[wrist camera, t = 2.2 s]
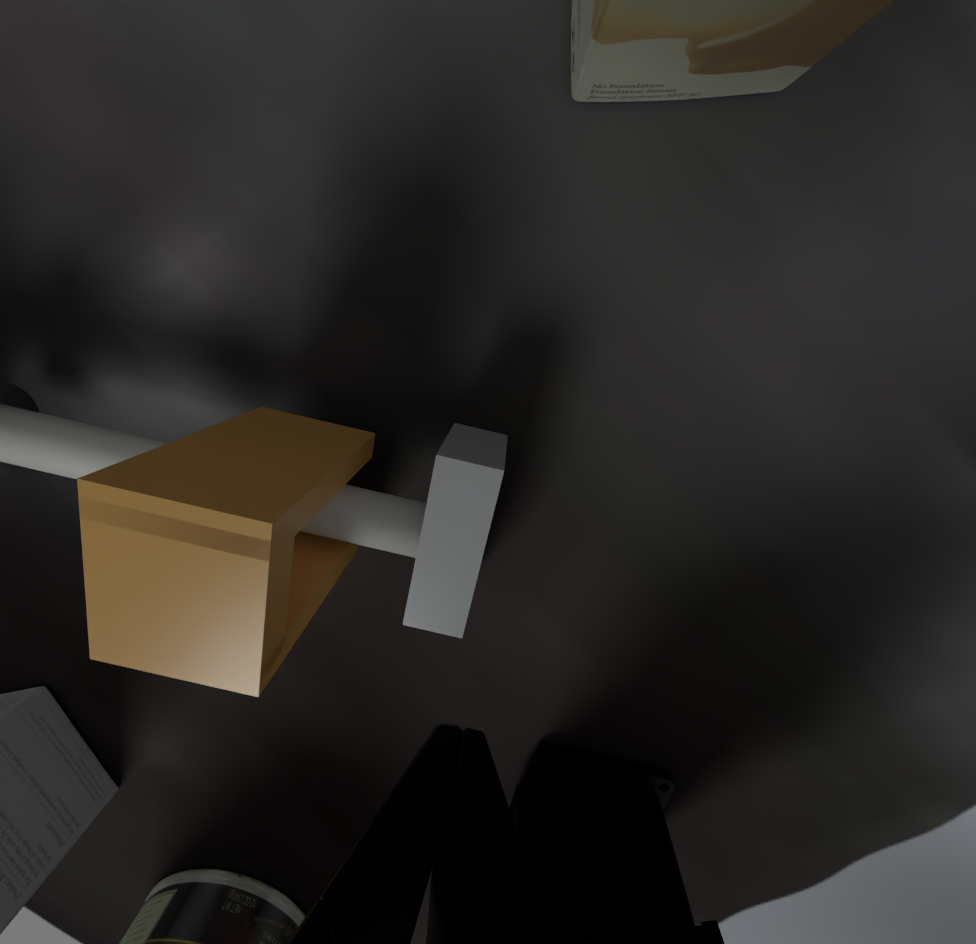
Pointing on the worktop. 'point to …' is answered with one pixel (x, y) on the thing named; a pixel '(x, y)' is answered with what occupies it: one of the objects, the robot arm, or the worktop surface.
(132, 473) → the sleeve
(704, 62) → the skincare box
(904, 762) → the worktop surface
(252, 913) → the coffee can
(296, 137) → the worktop surface
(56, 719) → the supplement box
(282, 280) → the worktop surface
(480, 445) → the grey mallet
